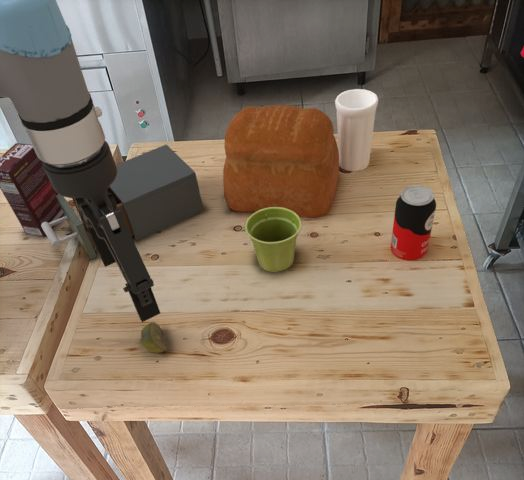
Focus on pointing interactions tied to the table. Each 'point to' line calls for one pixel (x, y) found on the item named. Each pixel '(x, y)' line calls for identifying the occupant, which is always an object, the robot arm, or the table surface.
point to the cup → (355, 127)
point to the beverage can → (413, 222)
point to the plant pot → (274, 236)
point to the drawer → (78, 225)
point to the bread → (281, 160)
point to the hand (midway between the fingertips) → (130, 287)
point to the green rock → (153, 338)
